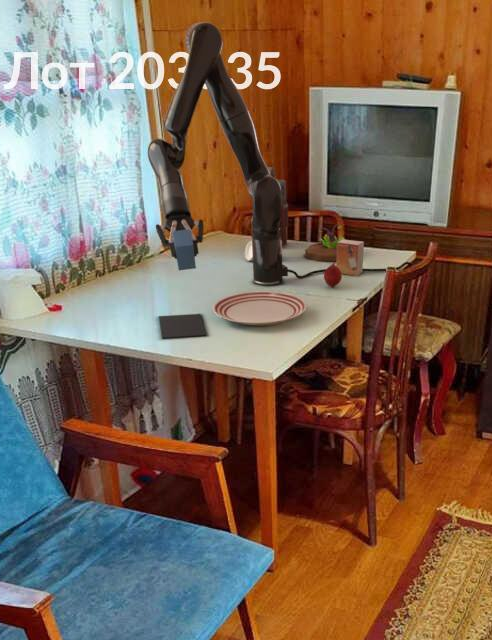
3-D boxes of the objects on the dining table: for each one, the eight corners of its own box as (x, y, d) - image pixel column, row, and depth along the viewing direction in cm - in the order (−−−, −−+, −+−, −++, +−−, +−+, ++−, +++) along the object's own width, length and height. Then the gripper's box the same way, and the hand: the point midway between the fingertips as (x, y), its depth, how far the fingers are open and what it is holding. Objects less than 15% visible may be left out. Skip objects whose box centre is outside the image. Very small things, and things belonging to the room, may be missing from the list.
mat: (200, 315, 218) (200, 313, 218) (206, 336, 203) (206, 334, 203) (158, 317, 215) (158, 316, 215) (162, 338, 201) (161, 337, 201)
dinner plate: (270, 338, 202) (270, 326, 201) (194, 319, 214) (193, 308, 212) (324, 312, 222) (324, 301, 220) (251, 296, 234) (251, 285, 232)
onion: (339, 290, 241) (339, 265, 236) (322, 289, 242) (322, 264, 237) (342, 285, 245) (343, 261, 241) (325, 284, 246) (326, 259, 242)
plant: (349, 264, 268) (350, 232, 261) (299, 259, 273) (299, 227, 266) (365, 251, 283) (366, 221, 277) (317, 246, 288) (318, 216, 282)
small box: (335, 273, 258) (336, 242, 252) (341, 269, 262) (342, 238, 256) (357, 276, 255) (358, 244, 249) (362, 272, 260) (364, 241, 254)
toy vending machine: (283, 249, 283) (282, 170, 268) (257, 246, 286) (254, 168, 271) (292, 244, 291) (291, 166, 275) (266, 241, 294) (264, 164, 278)
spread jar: (285, 259, 272) (284, 226, 266) (266, 265, 264) (265, 231, 258) (259, 254, 277) (258, 221, 271) (240, 260, 269) (238, 227, 263)
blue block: (192, 253, 218) (190, 229, 207) (195, 268, 217) (193, 244, 206) (175, 255, 218) (172, 231, 206) (178, 270, 217) (175, 247, 205)
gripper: (148, 198, 209) (158, 251, 205) (199, 192, 211) (210, 245, 208) (151, 214, 216) (161, 266, 212) (200, 209, 218) (211, 260, 215)
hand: (185, 255), depth 210 cm, fingers closed on blue block, 5 cm apart
